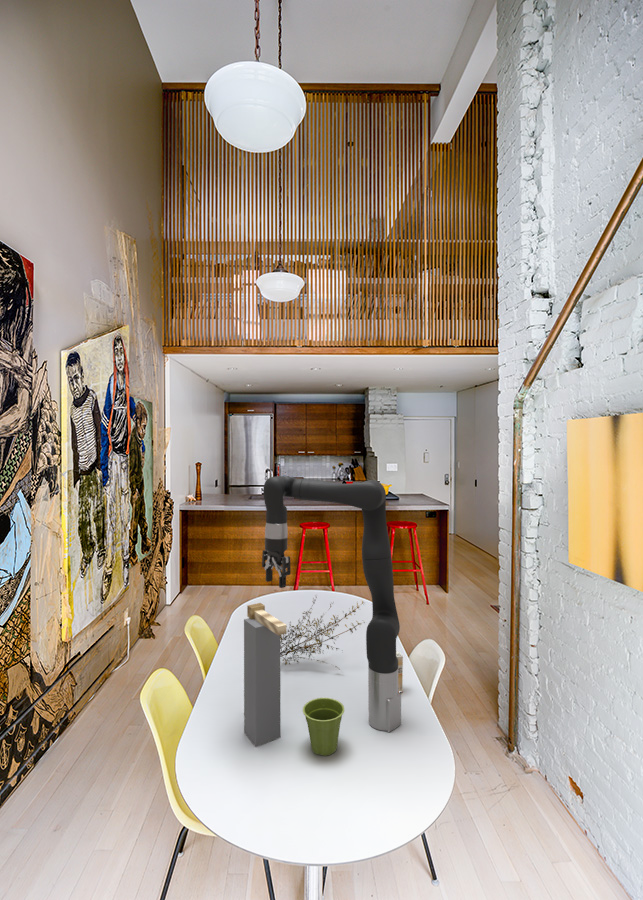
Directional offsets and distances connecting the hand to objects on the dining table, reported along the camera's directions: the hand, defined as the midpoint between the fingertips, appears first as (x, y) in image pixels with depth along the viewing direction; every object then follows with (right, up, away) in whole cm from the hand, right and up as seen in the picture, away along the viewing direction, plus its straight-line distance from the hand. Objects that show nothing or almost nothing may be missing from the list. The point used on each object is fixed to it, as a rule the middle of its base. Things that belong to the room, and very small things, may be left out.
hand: (275, 584), depth 154 cm
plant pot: (+16, -40, -23) cm, 49 cm away
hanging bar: (0, -6, -20) cm, 21 cm away
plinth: (-2, -40, -17) cm, 43 cm away
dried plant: (+16, -40, +29) cm, 52 cm away
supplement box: (+39, -40, +7) cm, 57 cm away
